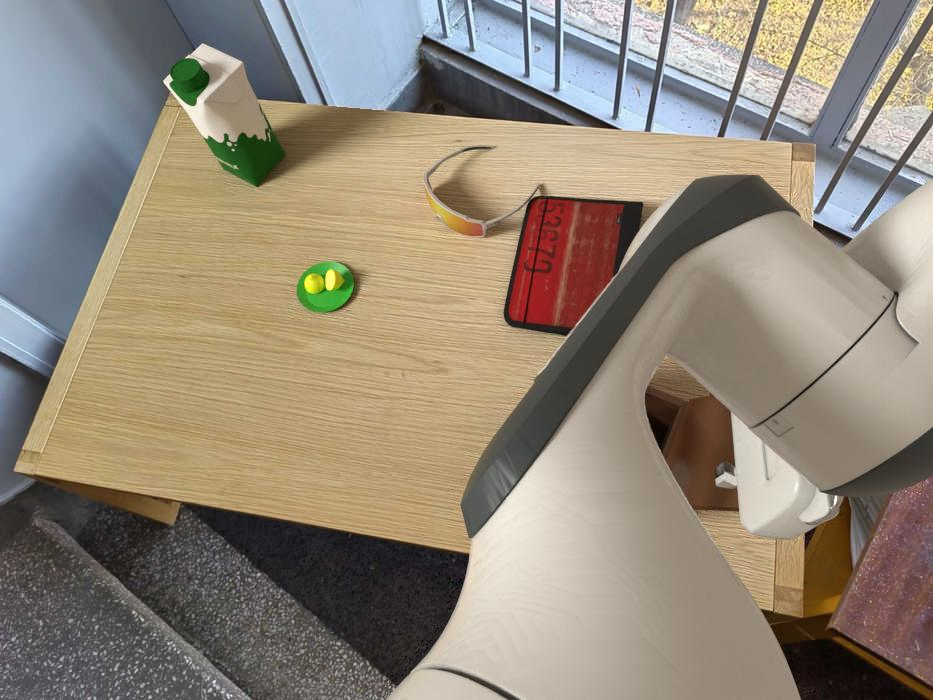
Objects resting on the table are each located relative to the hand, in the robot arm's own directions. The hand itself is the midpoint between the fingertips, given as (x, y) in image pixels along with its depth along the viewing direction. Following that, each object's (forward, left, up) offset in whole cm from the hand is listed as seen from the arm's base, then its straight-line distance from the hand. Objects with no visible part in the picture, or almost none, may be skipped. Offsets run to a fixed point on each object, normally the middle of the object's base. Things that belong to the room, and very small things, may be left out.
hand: (719, 433), depth 57 cm
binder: (+24, +22, -23) cm, 40 cm away
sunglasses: (+30, +39, -23) cm, 54 cm away
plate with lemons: (+8, +52, -23) cm, 57 cm away
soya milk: (+23, +74, -23) cm, 80 cm away
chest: (0, +10, -23) cm, 25 cm away
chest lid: (0, -1, -2) cm, 3 cm away
